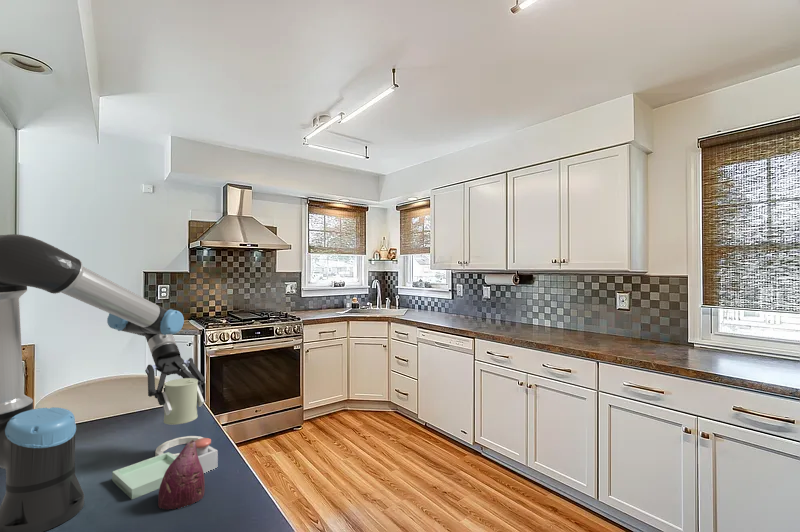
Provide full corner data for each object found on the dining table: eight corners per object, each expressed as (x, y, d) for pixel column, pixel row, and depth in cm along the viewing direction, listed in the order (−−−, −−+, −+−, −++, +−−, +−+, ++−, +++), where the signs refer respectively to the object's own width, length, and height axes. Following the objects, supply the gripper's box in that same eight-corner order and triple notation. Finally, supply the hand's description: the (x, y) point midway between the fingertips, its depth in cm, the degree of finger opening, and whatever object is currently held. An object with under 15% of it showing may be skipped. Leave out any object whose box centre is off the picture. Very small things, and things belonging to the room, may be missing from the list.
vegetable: (192, 495, 103) (204, 434, 107) (210, 505, 96) (222, 439, 101) (148, 503, 95) (162, 436, 99) (165, 514, 89) (179, 442, 93)
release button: (197, 469, 107) (197, 446, 107) (189, 464, 110) (189, 442, 110) (214, 462, 110) (214, 440, 111) (206, 458, 113) (206, 436, 113)
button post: (196, 477, 106) (196, 458, 106) (185, 470, 109) (186, 452, 109) (217, 468, 111) (217, 450, 111) (207, 461, 114) (207, 444, 114)
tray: (132, 499, 95) (132, 489, 95) (112, 480, 104) (112, 471, 104) (190, 475, 107) (190, 466, 107) (168, 460, 115) (168, 451, 115)
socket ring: (167, 466, 111) (167, 460, 111) (148, 453, 120) (148, 447, 120) (214, 449, 122) (214, 443, 122) (193, 437, 130) (193, 432, 130)
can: (187, 425, 116) (187, 384, 116) (156, 424, 116) (157, 384, 116) (203, 414, 125) (203, 376, 125) (175, 413, 125) (175, 376, 126)
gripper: (129, 347, 119) (150, 411, 109) (201, 338, 136) (224, 392, 126) (123, 362, 122) (142, 425, 112) (193, 351, 139) (215, 405, 129)
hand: (185, 408), depth 119 cm, fingers closed on can, 9 cm apart
